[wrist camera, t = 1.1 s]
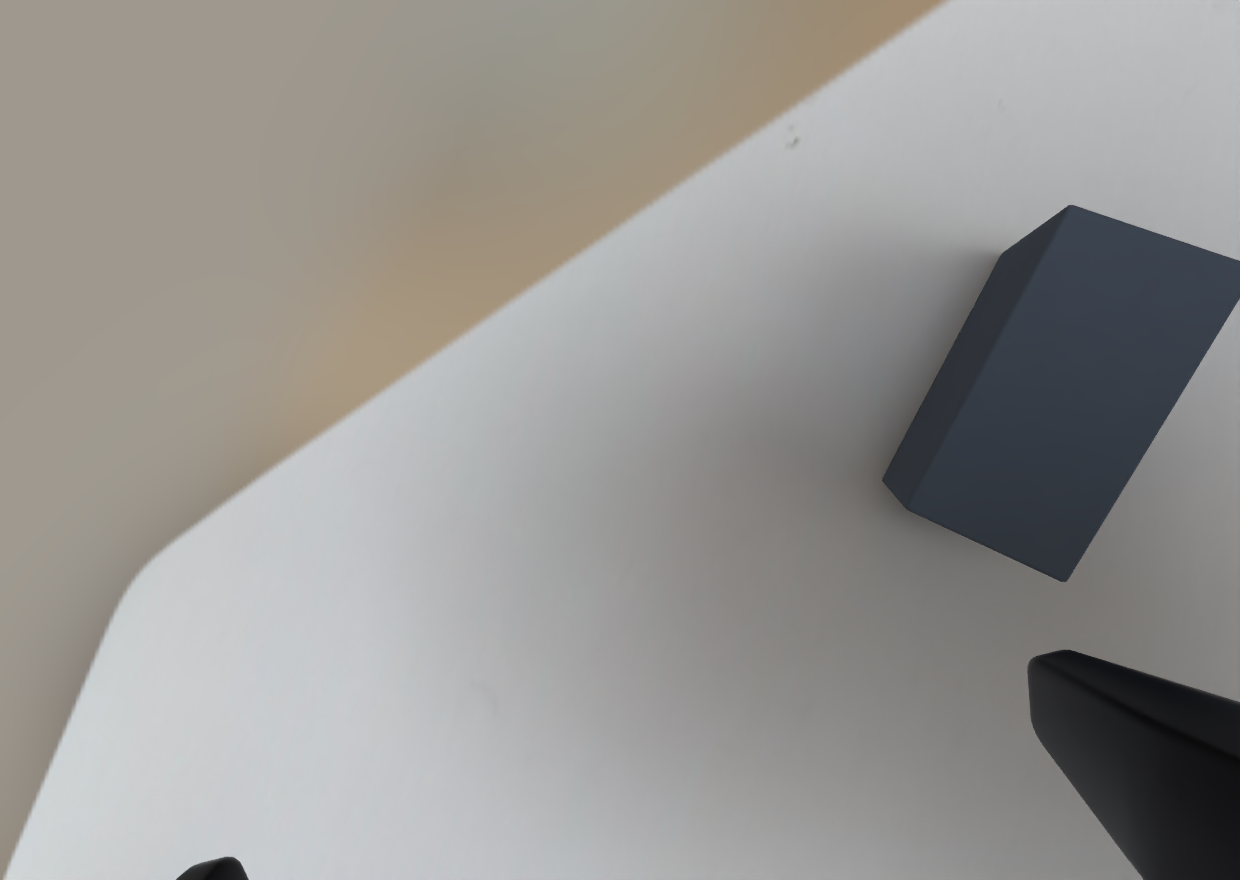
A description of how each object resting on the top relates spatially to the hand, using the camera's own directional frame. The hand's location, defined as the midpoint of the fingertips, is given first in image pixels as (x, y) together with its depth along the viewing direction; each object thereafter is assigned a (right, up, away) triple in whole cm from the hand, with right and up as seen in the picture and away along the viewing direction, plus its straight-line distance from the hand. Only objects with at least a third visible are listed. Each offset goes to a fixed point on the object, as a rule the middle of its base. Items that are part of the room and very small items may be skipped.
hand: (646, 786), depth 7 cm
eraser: (+9, +5, +8) cm, 13 cm away
